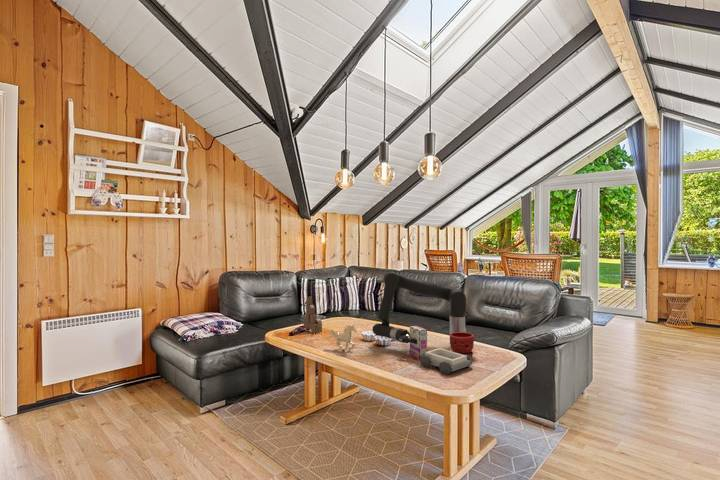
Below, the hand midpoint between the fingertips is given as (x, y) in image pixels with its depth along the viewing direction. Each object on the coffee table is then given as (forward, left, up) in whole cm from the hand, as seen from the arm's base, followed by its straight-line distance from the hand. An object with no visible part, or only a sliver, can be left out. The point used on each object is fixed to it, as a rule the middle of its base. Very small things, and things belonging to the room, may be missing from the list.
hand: (420, 340), depth 209 cm
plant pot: (-21, +11, -10) cm, 26 cm away
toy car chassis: (0, +17, -10) cm, 20 cm away
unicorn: (+24, -40, -10) cm, 47 cm away
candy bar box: (0, -2, -10) cm, 10 cm away
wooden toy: (+15, -90, -10) cm, 92 cm away
